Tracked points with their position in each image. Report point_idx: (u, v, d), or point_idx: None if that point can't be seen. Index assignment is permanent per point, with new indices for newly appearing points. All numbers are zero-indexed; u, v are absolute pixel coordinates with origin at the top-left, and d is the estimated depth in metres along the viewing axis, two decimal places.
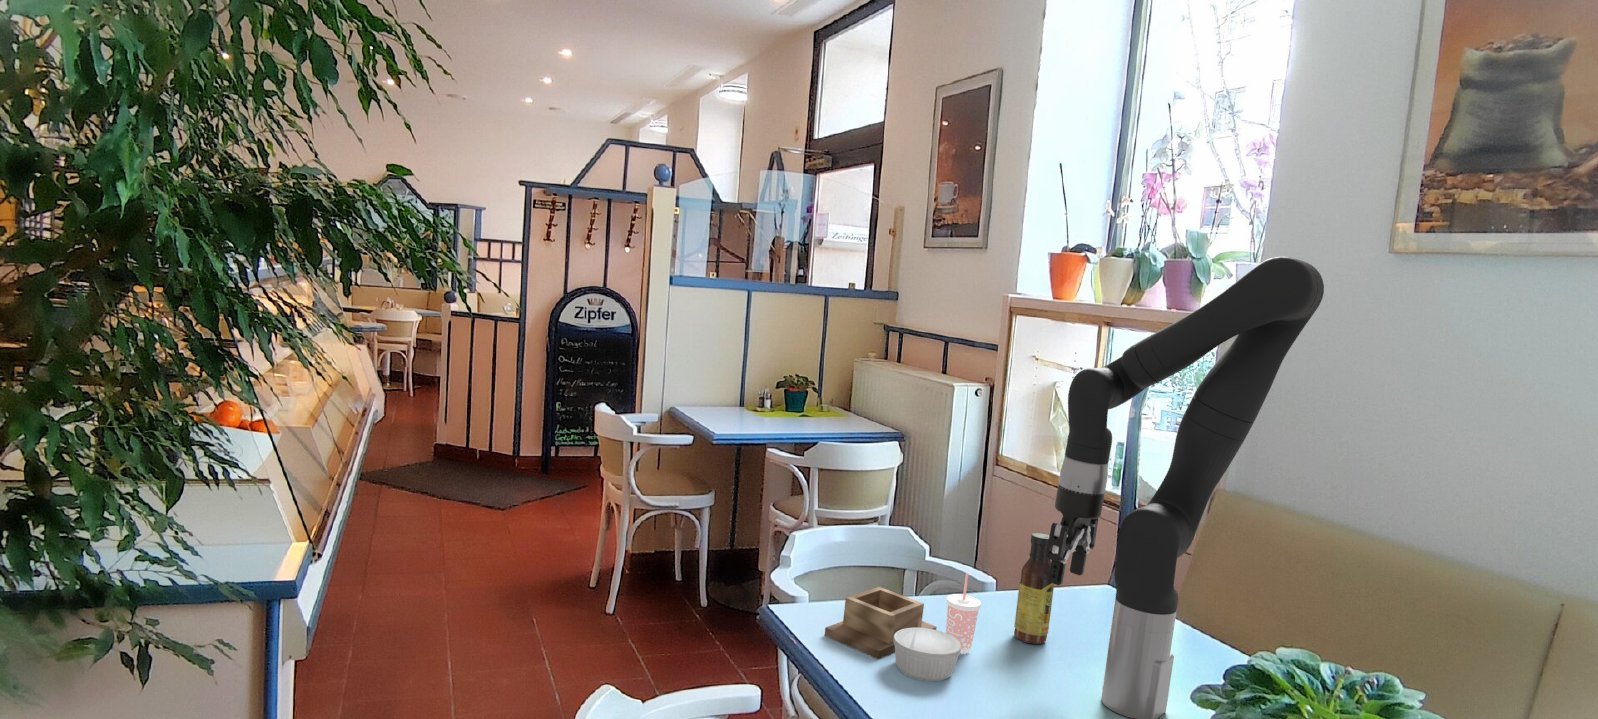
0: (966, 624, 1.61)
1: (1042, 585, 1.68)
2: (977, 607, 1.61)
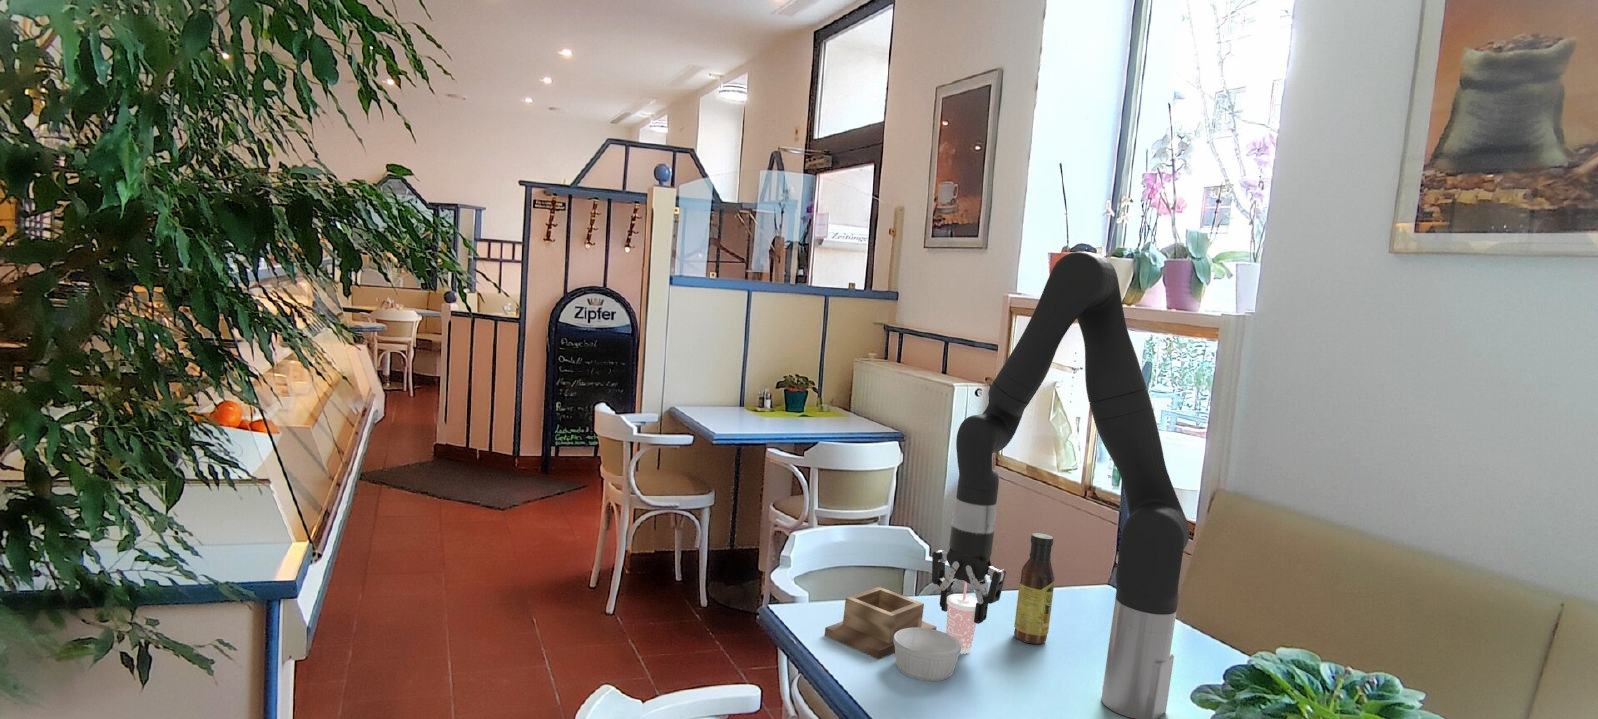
0: (966, 624, 1.61)
1: (1042, 585, 1.68)
2: None
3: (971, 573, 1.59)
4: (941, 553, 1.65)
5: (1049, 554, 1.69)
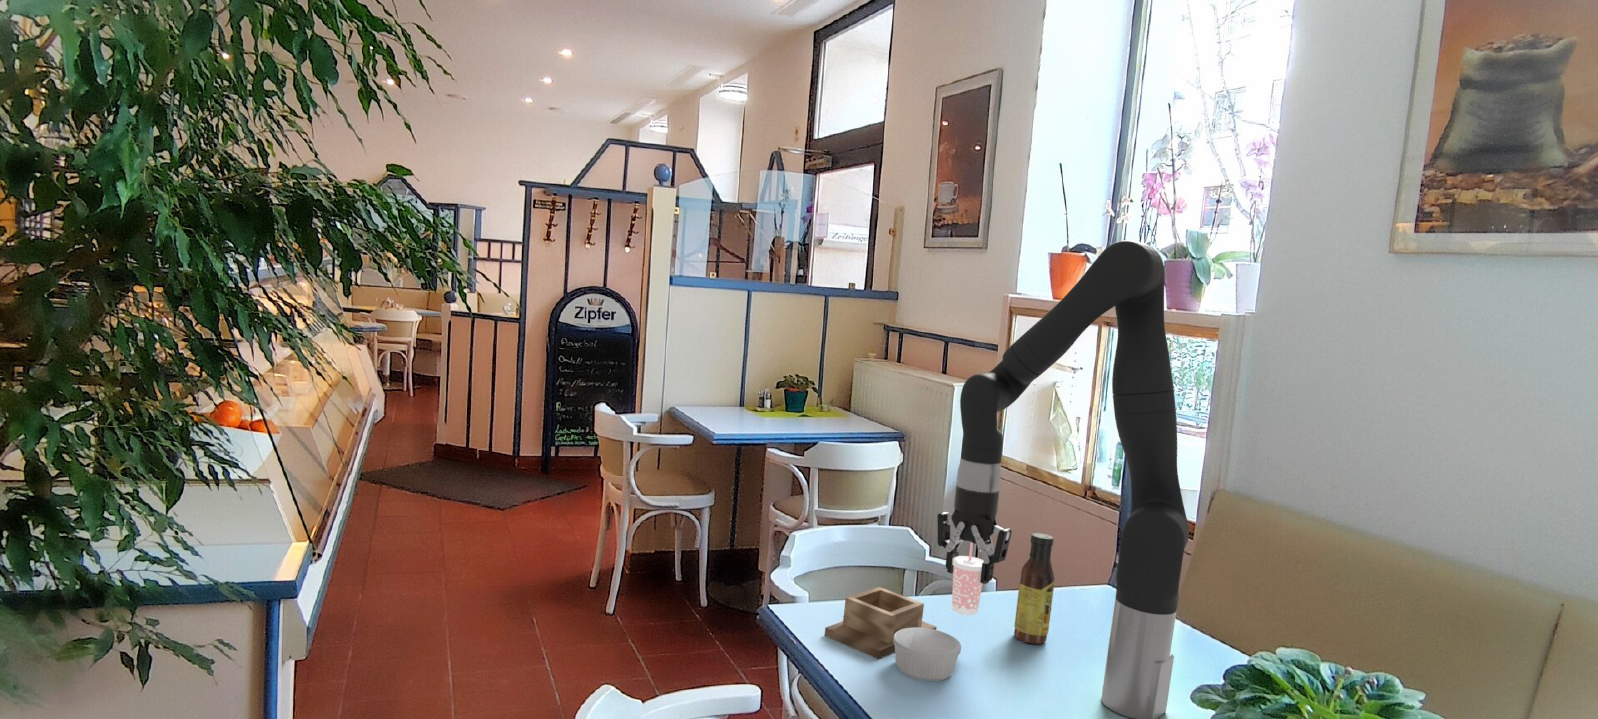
0: (973, 584, 1.60)
1: (1042, 585, 1.68)
2: None
3: (977, 533, 1.59)
4: (946, 515, 1.65)
5: (1049, 554, 1.69)
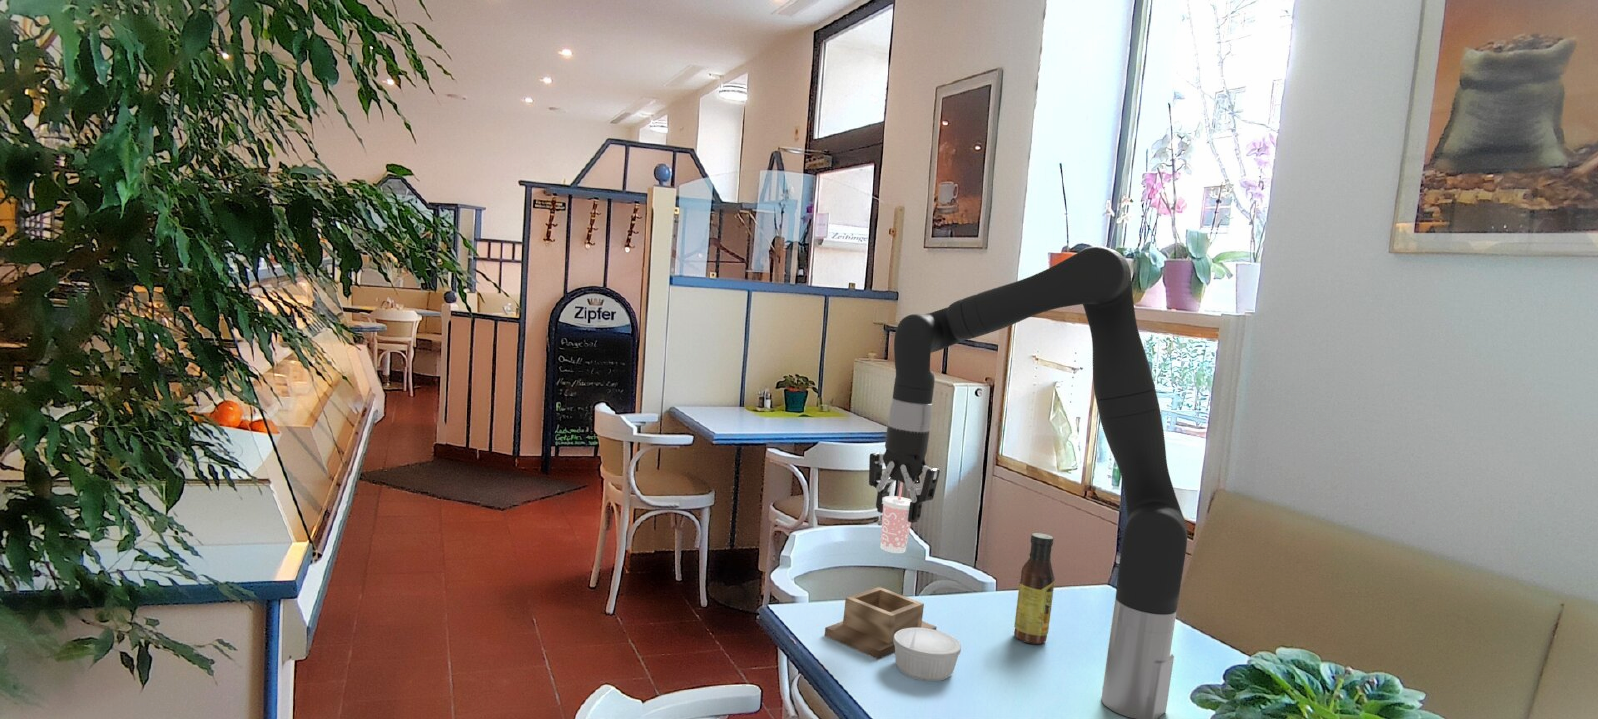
0: (901, 523, 1.62)
1: (1042, 585, 1.68)
2: None
3: (906, 472, 1.60)
4: (878, 455, 1.66)
5: (1049, 554, 1.69)
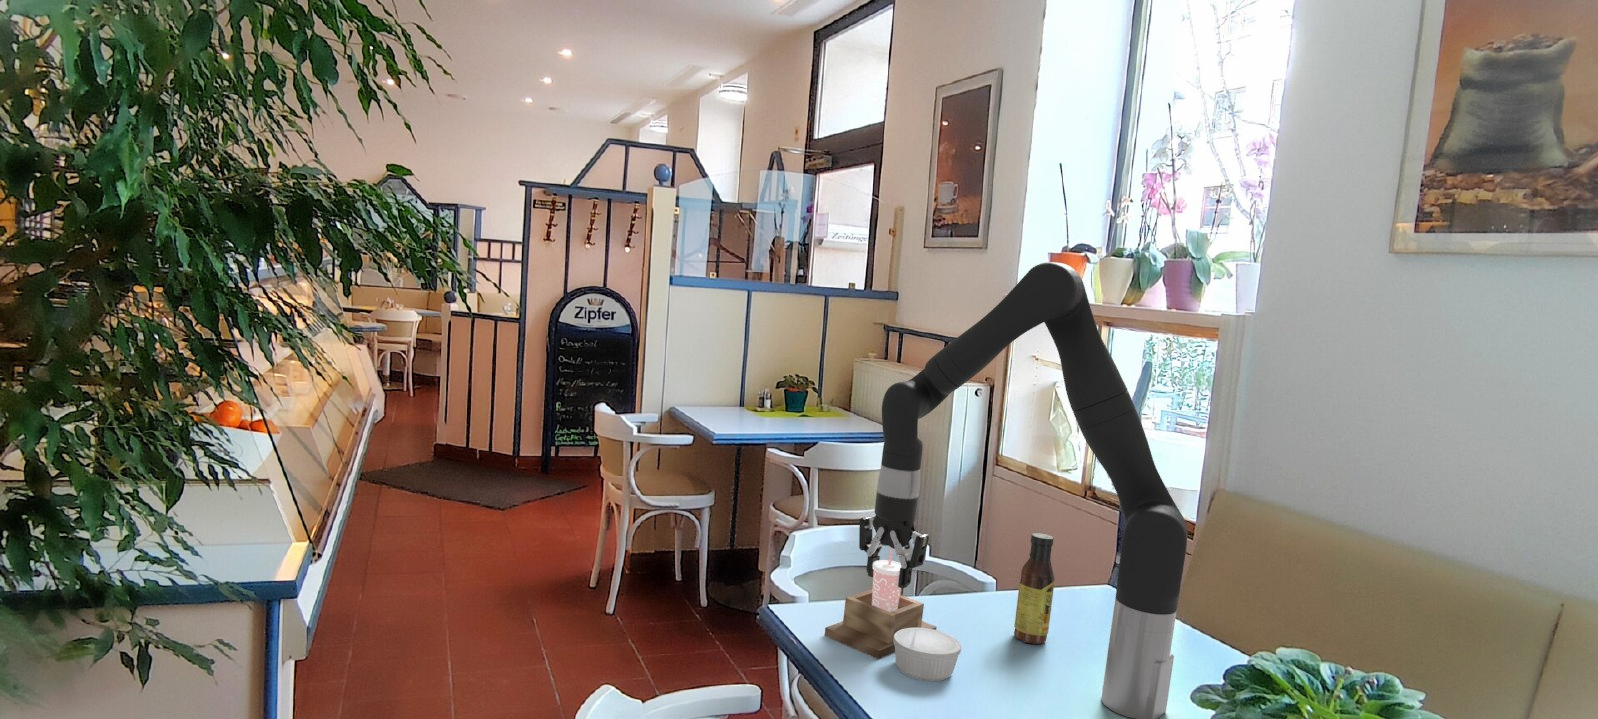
0: (891, 588, 1.63)
1: (1042, 585, 1.68)
2: None
3: (895, 538, 1.61)
4: (868, 519, 1.67)
5: (1049, 554, 1.69)
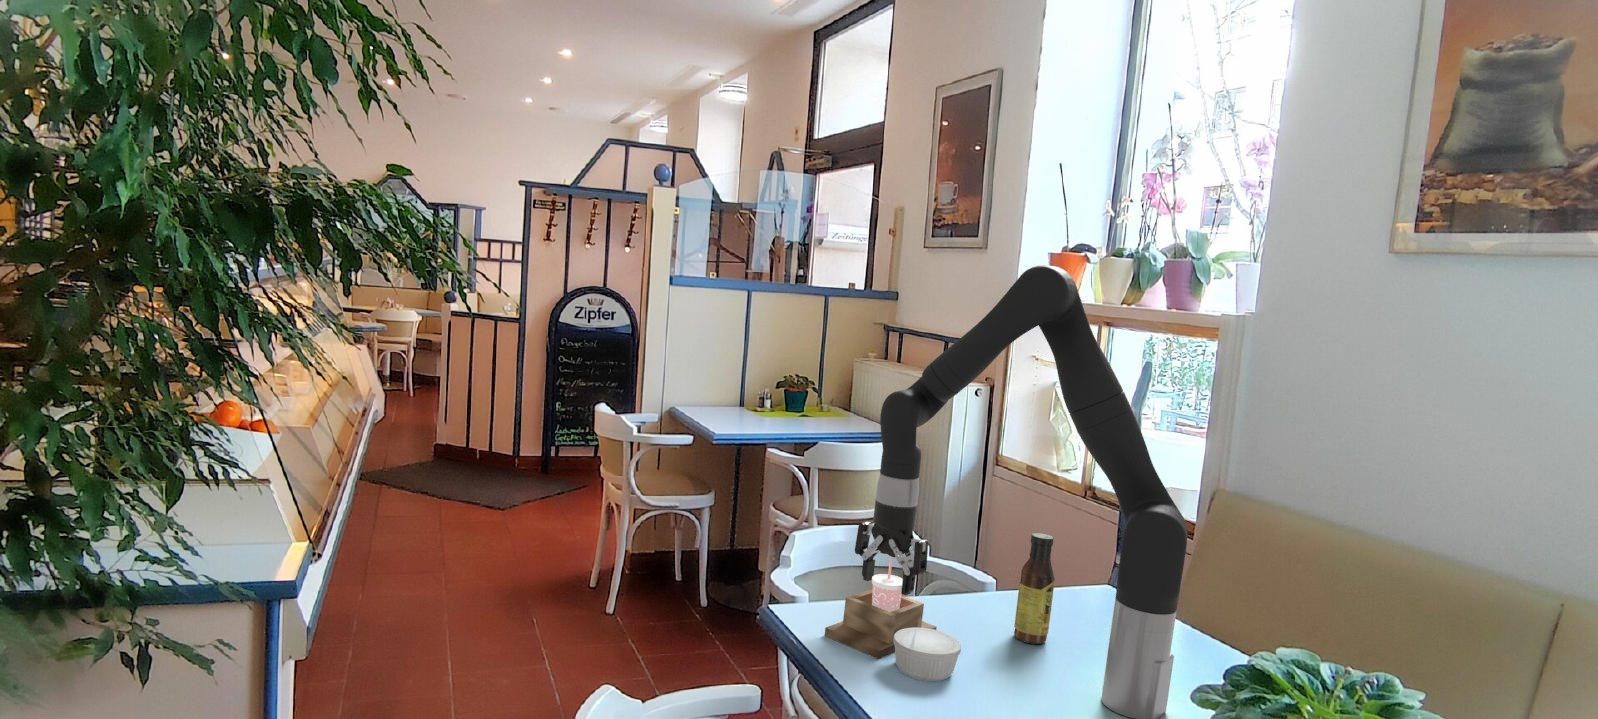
0: (890, 603, 1.63)
1: (1042, 585, 1.68)
2: (901, 586, 1.63)
3: (894, 546, 1.62)
4: (867, 525, 1.67)
5: (1049, 554, 1.69)
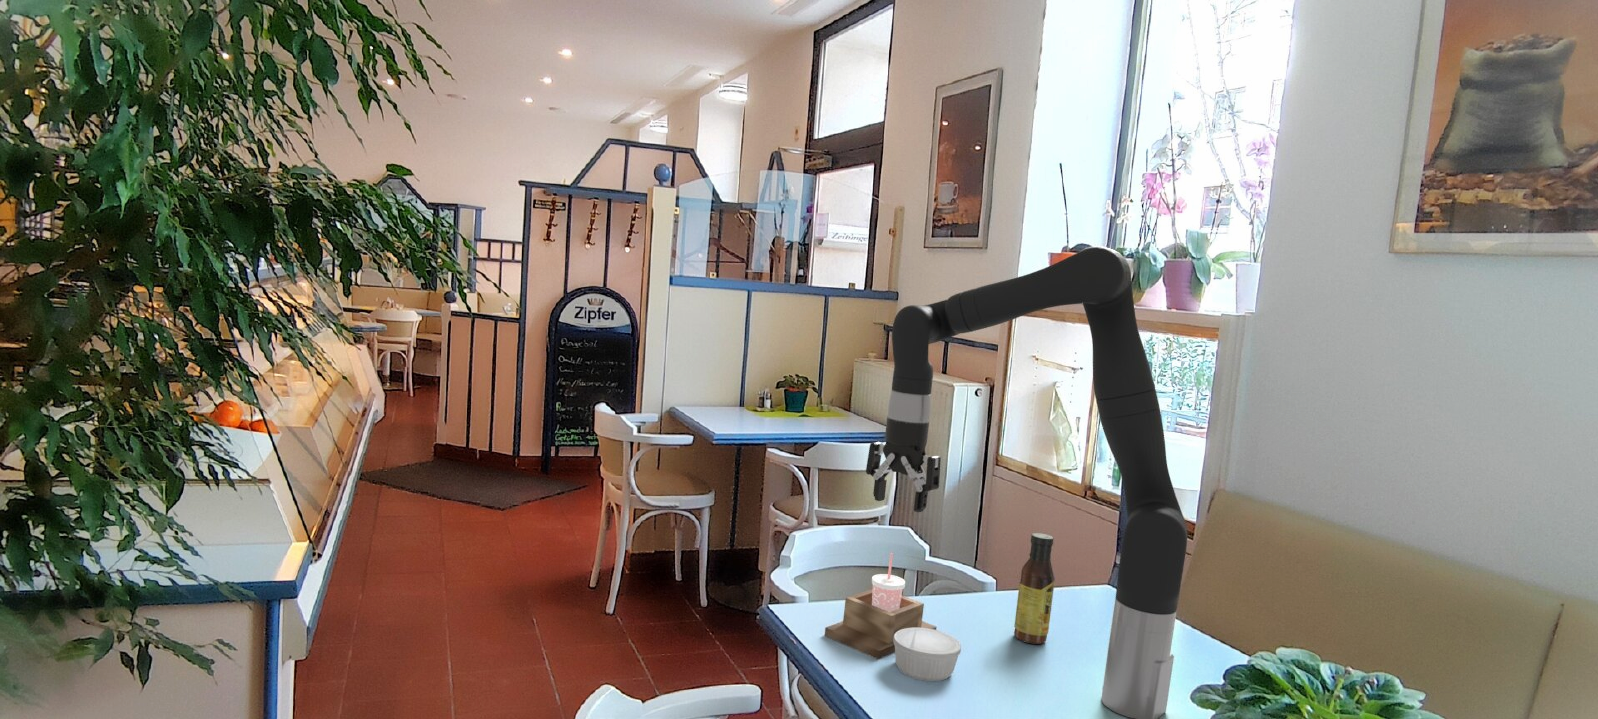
0: (890, 603, 1.63)
1: (1042, 585, 1.68)
2: (901, 586, 1.63)
3: (907, 463, 1.60)
4: (878, 445, 1.66)
5: (1049, 554, 1.69)
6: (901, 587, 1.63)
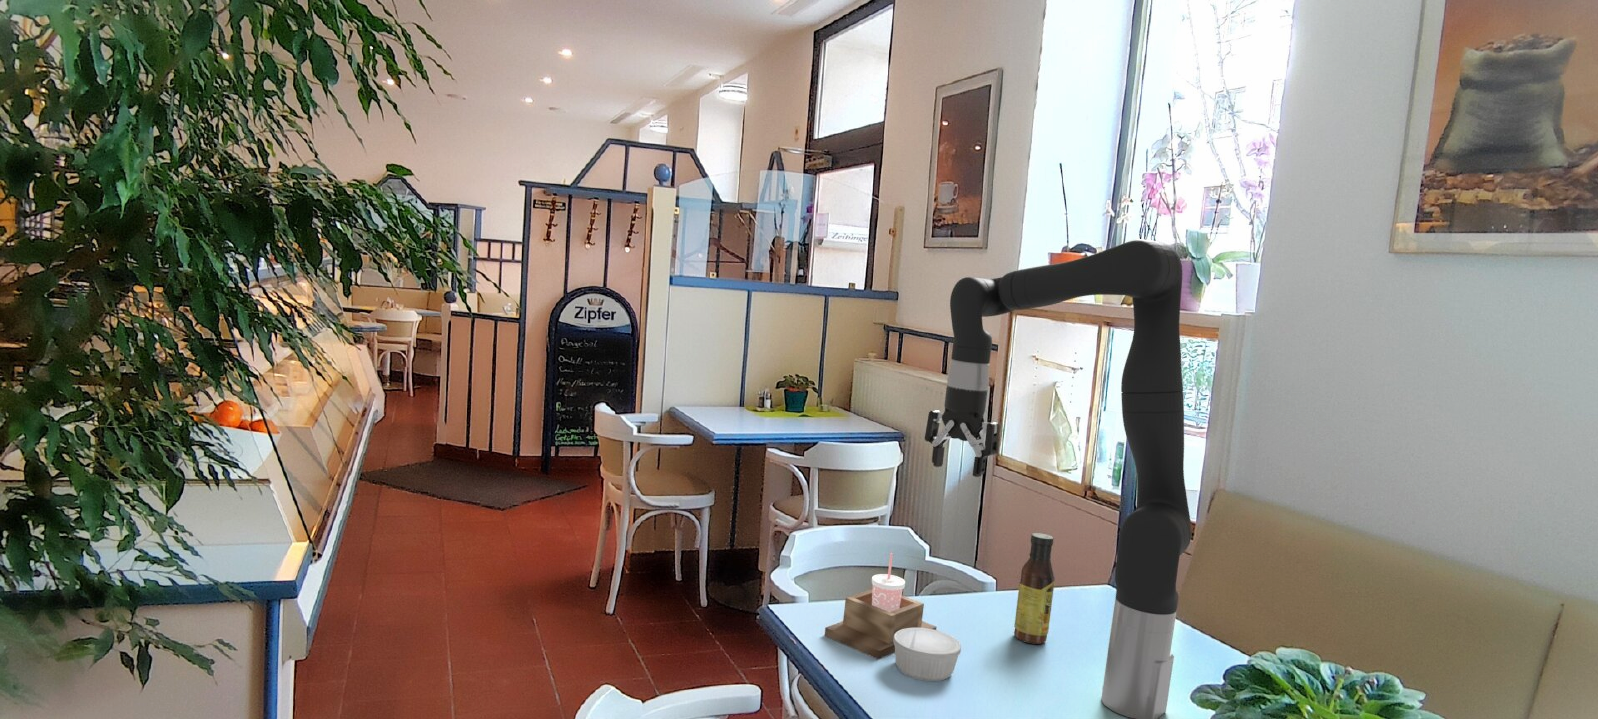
0: (890, 603, 1.63)
1: (1042, 585, 1.68)
2: (901, 586, 1.63)
3: (966, 429, 1.67)
4: (937, 413, 1.73)
5: (1049, 554, 1.69)
6: (901, 587, 1.63)
